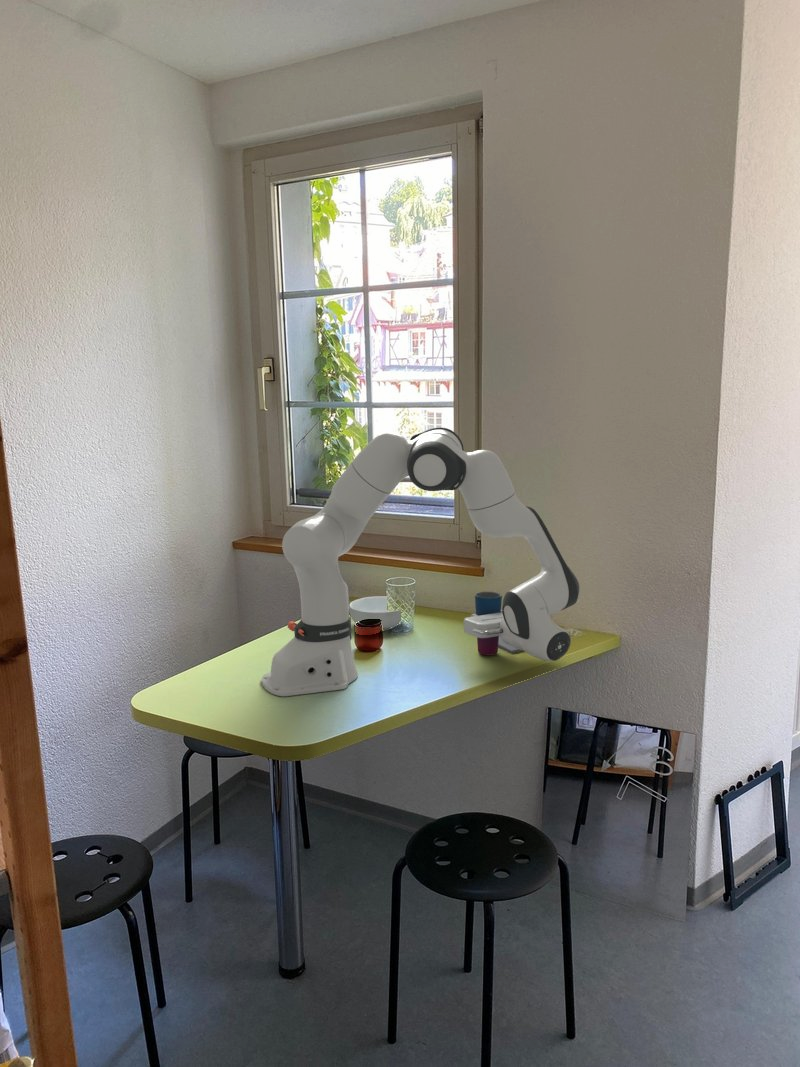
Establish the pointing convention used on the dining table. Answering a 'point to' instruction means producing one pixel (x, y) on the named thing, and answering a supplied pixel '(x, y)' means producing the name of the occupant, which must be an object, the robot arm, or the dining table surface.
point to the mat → (507, 647)
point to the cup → (486, 614)
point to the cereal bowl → (374, 611)
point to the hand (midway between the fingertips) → (486, 614)
